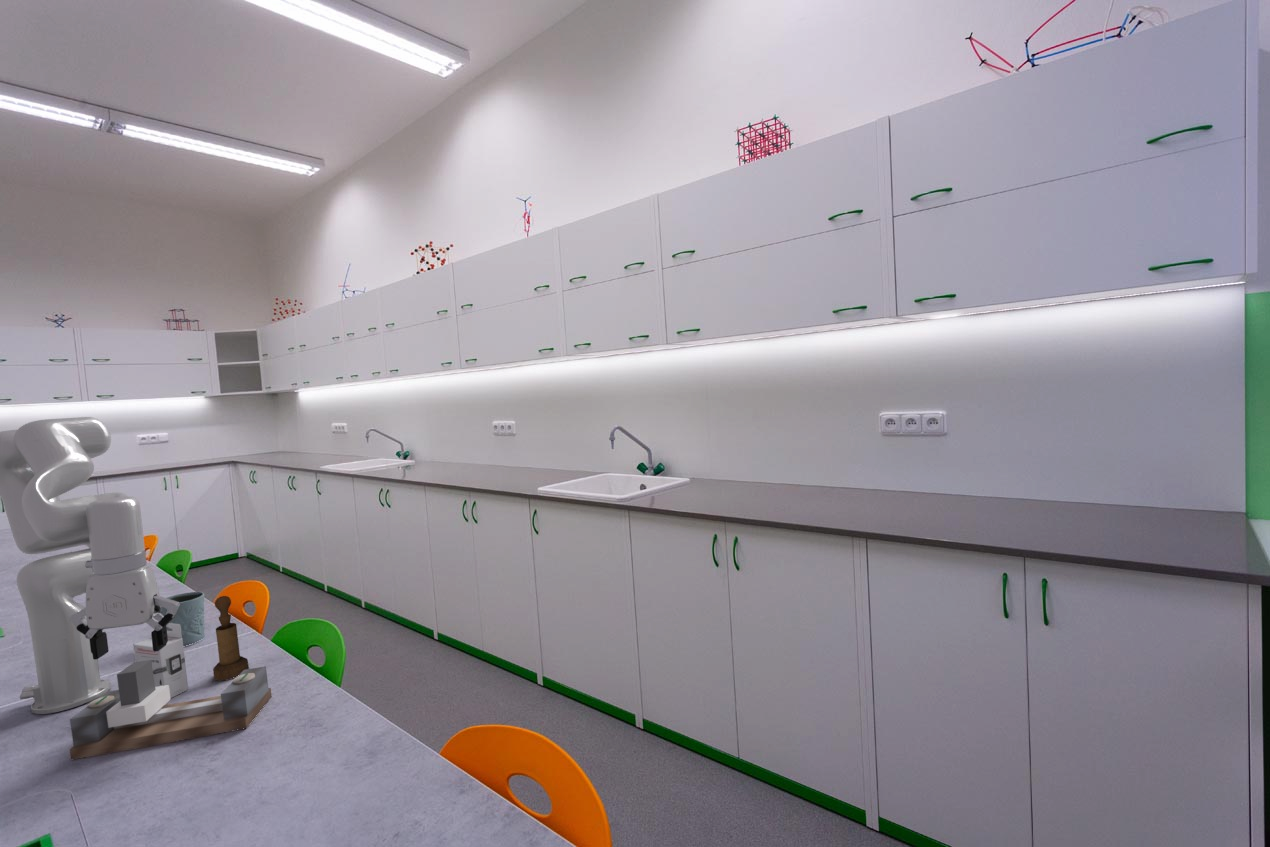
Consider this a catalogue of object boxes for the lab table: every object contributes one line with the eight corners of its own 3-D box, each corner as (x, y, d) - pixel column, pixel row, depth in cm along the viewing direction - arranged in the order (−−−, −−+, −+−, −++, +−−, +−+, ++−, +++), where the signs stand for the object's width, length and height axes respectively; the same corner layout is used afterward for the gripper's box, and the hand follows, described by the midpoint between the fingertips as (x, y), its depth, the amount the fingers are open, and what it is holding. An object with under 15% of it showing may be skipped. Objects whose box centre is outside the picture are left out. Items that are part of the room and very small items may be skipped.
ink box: (138, 697, 126) (129, 630, 125) (163, 685, 131) (154, 621, 130) (165, 701, 123) (156, 633, 123) (189, 689, 128) (181, 623, 127)
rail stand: (71, 760, 104) (65, 718, 104) (115, 723, 116) (110, 686, 115) (246, 728, 110) (241, 689, 109) (271, 696, 122) (267, 661, 121)
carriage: (108, 727, 107) (101, 679, 106) (135, 705, 115) (129, 660, 114) (146, 721, 108) (139, 673, 108) (170, 699, 116) (164, 655, 115)
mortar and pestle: (230, 681, 130) (221, 602, 129) (206, 680, 132) (196, 602, 131) (255, 667, 137) (246, 591, 136) (232, 666, 138) (223, 591, 137)
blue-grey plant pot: (152, 648, 153) (146, 603, 153) (194, 632, 163) (188, 590, 162) (177, 652, 150) (171, 606, 149) (218, 635, 159) (212, 592, 158)
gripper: (50, 575, 104) (62, 668, 106) (161, 564, 108) (172, 654, 109) (80, 563, 112) (91, 650, 113) (183, 552, 115) (193, 637, 116)
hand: (130, 652), depth 111 cm, fingers open, 9 cm apart
